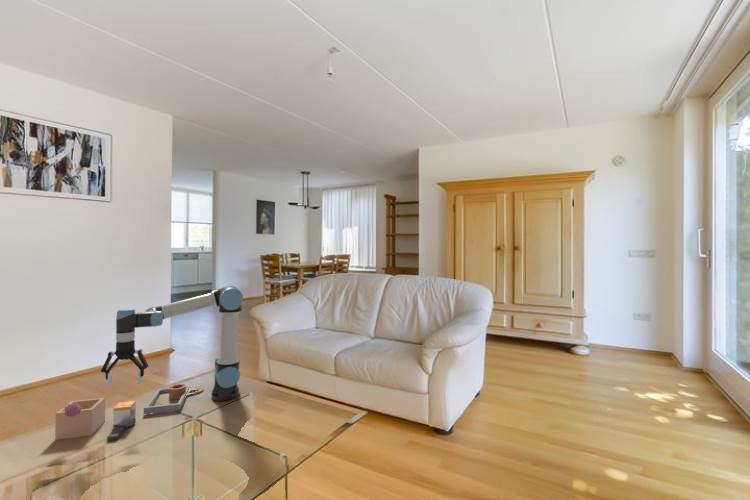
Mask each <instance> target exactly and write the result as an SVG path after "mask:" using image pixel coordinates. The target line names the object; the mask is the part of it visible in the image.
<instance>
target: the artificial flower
mask: <svg viewBox="0 0 750 500" xmlns="http://www.w3.org/2000/svg"><path fill="white" fill-rule="evenodd" d="M67 404H68V406H66V405H65V406H63V407H64V408H65V415H67V417H73V416H75V417H76V415H78V414H80V412H81V411H82V410H81V409H83V408H82V407H80V406H81V405H80V406H79V404H78V402H77V403H76V402H75V403H73V404H69V403H67Z"/></svg>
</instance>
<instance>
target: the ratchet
mask: <svg viewBox="0 0 750 500" xmlns="http://www.w3.org/2000/svg"><path fill="white" fill-rule="evenodd" d="M135 423H136V417H135V418H134V419H133V420H132V422H131V423H127V424H118V425H113V424H112V428H113V430H112V431H111V432H110V433H109V435H107V439H106V442H113V441H118V440H119V439H120V438H121V437H122V435H123V434H124V433H125V432H126V430H129V429H131V428H133V427H134V426H136V424H135Z"/></svg>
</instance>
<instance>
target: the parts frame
mask: <svg viewBox="0 0 750 500" xmlns="http://www.w3.org/2000/svg"><path fill="white" fill-rule="evenodd" d="M169 388H170V387H167V388H158V389H157V390H156V391H155V393H154V394H153V395H152V397H151V398H150V399H149V401H148V402H147V403H146V404H145V405H144V407H143V415H144V414H150V413H159V414H166V413H167V414H168V413H174V411H175V412H177V411H176V410H180V409H182V408H181V407H183V405H184V403H183V402H185V401H184V399H185V396H186V394H187V392H188V390H189V388H191V385H188V386H186V391H185V392H184V393H183V395H182V397H181V398H179V399H178V402H177V403H169V404H168V403H167V404H159V405H154V404H155V403H156V401H157V399H158V398H159V396H160V394H164V393H169ZM185 400H186V399H185ZM182 404H183V405H182ZM180 411H181V410H180Z"/></svg>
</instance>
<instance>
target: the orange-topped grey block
mask: <svg viewBox="0 0 750 500" xmlns="http://www.w3.org/2000/svg"><path fill="white" fill-rule="evenodd" d="M112 413H113V420H112V421H113V423H112V426H113V425H118V424H127V423H131V422H132V420H133V419H134V418H136V400H130V401H121V402H118V403H117V404H116V405H115V406H114V407H113V412H112Z"/></svg>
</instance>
